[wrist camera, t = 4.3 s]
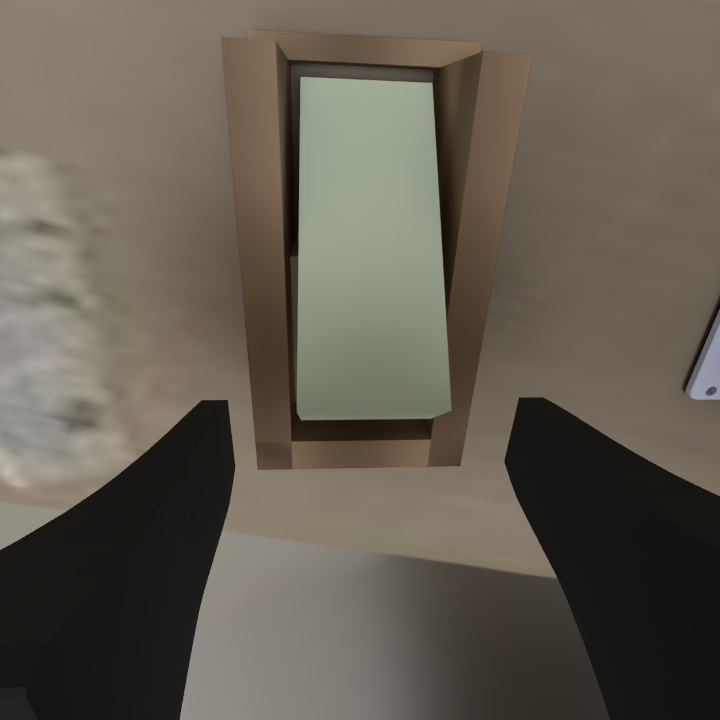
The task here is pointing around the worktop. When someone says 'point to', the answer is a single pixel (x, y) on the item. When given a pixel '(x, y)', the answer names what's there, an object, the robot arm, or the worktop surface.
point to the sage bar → (370, 253)
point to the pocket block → (280, 244)
